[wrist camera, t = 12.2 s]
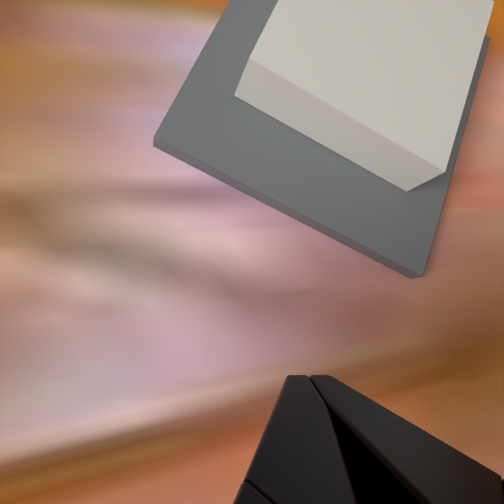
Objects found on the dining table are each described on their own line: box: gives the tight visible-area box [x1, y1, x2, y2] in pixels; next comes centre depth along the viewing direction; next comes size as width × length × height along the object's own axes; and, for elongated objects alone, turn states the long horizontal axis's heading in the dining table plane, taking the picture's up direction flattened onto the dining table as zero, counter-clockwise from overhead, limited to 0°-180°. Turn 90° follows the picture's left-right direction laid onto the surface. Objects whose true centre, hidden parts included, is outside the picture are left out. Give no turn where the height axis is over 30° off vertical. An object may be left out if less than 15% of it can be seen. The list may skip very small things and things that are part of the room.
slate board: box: [153, 0, 490, 278], centre depth 23 cm, size 18×16×1 cm
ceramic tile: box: [234, 0, 494, 192], centre depth 22 cm, size 3×11×12 cm
